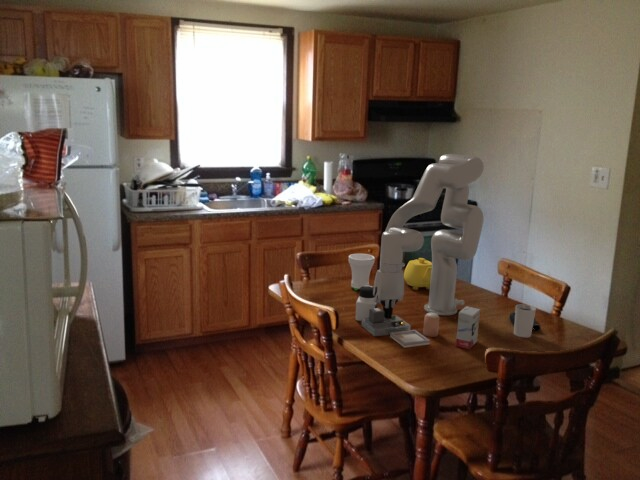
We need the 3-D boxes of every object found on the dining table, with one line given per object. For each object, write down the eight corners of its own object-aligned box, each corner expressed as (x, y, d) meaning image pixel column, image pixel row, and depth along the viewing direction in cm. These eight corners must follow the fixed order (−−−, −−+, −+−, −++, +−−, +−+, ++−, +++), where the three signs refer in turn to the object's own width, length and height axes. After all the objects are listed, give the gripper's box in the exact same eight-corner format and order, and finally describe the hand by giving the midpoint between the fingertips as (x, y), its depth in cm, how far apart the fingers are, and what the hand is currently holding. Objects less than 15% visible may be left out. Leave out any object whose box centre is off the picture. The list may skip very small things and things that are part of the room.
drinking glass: (522, 339, 199) (525, 311, 197) (508, 332, 205) (511, 305, 203) (536, 336, 202) (540, 309, 200) (522, 329, 208) (525, 303, 206)
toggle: (379, 320, 204) (379, 307, 203) (383, 323, 200) (384, 310, 199) (368, 321, 202) (369, 308, 201) (373, 324, 199) (374, 311, 198)
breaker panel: (396, 321, 210) (397, 312, 210) (410, 332, 201) (411, 322, 201) (361, 325, 205) (362, 315, 204) (374, 336, 196) (374, 326, 195)
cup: (348, 283, 254) (349, 252, 251) (373, 285, 252) (375, 254, 249) (345, 291, 243) (347, 259, 240) (372, 293, 241) (374, 261, 238)
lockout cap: (432, 330, 204) (434, 311, 202) (440, 335, 199) (442, 316, 197) (420, 332, 202) (422, 312, 200) (428, 337, 197) (429, 317, 196)
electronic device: (541, 336, 207) (532, 316, 221) (542, 322, 205) (532, 303, 219) (514, 337, 208) (506, 317, 222) (514, 324, 206) (506, 304, 220)
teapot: (427, 280, 264) (429, 253, 261) (444, 294, 245) (447, 265, 242) (398, 281, 261) (400, 253, 258) (413, 295, 242) (415, 265, 239)
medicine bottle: (374, 322, 209) (376, 290, 206) (355, 320, 210) (356, 289, 208) (376, 316, 216) (378, 285, 213) (357, 314, 217) (359, 283, 214)
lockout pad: (414, 333, 200) (415, 329, 200) (429, 344, 191) (429, 340, 191) (390, 336, 197) (390, 332, 196) (404, 347, 188) (404, 343, 188)
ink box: (469, 350, 188) (472, 315, 186) (454, 346, 191) (458, 312, 188) (477, 341, 195) (480, 308, 193) (463, 338, 198) (466, 305, 195)
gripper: (404, 262, 204) (400, 311, 209) (366, 265, 199) (363, 316, 203) (415, 268, 198) (411, 319, 202) (376, 271, 192) (373, 323, 196)
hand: (387, 317), depth 202 cm, fingers closed
